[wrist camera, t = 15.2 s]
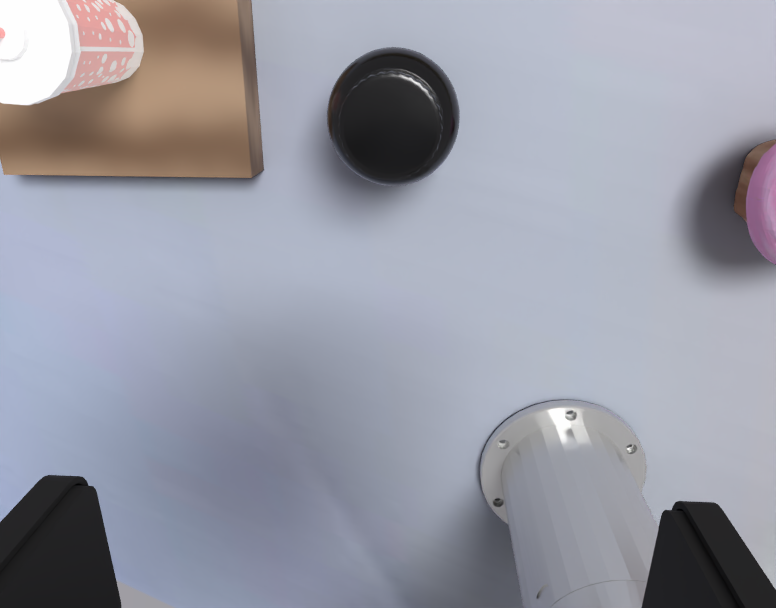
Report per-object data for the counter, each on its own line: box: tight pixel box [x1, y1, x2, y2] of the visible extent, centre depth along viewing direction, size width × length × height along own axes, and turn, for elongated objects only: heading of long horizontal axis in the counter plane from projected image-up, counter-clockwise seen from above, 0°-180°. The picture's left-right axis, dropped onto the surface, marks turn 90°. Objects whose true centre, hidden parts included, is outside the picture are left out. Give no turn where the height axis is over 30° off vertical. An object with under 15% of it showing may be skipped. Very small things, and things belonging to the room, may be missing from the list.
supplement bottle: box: [327, 47, 459, 186], centre depth 33 cm, size 7×7×12 cm
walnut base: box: [0, 0, 264, 178], centre depth 36 cm, size 16×16×3 cm
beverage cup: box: [0, 0, 144, 105], centre depth 28 cm, size 6×6×14 cm
